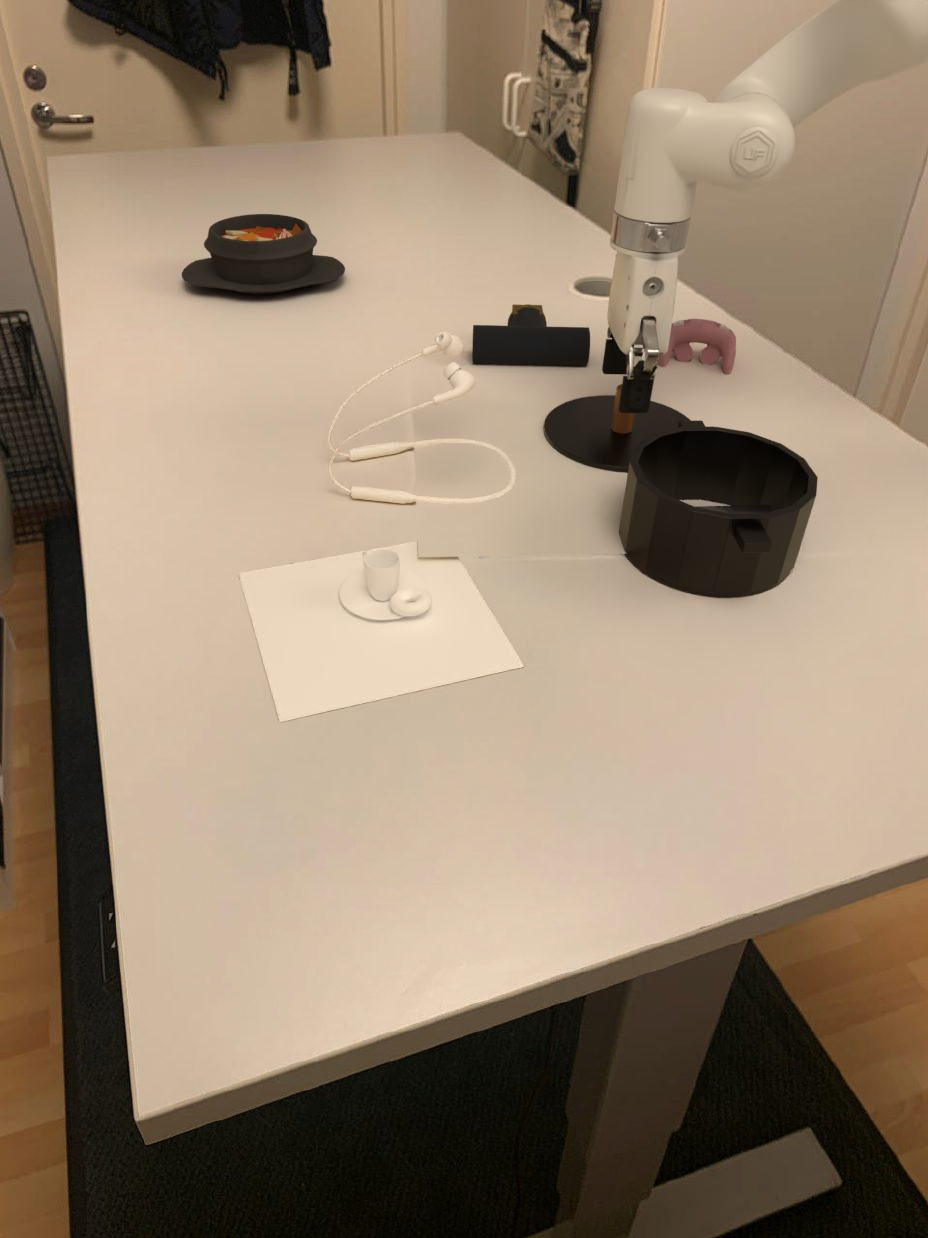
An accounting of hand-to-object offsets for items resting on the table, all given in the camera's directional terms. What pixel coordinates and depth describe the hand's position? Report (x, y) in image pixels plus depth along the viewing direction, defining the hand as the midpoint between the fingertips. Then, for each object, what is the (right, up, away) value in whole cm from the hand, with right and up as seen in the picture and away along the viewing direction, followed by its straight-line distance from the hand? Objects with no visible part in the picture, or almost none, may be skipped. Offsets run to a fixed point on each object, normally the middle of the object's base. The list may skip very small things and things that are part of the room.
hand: (623, 391), depth 102 cm
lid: (0, -4, +3) cm, 5 cm away
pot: (+6, -18, -13) cm, 23 cm away
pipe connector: (-9, +10, +22) cm, 26 cm away
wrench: (+6, -18, -13) cm, 23 cm away
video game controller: (+13, +8, +20) cm, 25 cm away
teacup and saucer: (-26, -25, -23) cm, 43 cm away
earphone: (-22, -10, -4) cm, 25 cm away
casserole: (-49, +27, +41) cm, 69 cm away
